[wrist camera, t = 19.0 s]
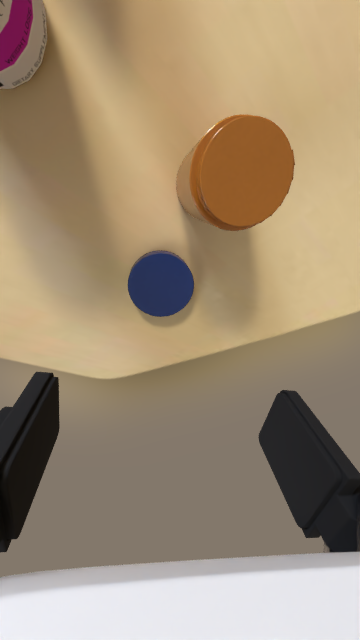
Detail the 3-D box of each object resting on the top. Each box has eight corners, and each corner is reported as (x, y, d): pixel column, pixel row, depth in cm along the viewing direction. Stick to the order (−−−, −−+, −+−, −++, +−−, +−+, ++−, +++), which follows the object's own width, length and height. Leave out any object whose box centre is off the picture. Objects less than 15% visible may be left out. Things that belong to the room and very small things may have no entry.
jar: (188, 230, 25) (210, 247, 16) (166, 159, 22) (177, 132, 13) (249, 207, 25) (305, 212, 16) (234, 132, 22) (293, 85, 13)
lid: (198, 256, 26) (200, 259, 25) (185, 314, 29) (187, 320, 27) (132, 245, 25) (131, 247, 24) (126, 306, 28) (124, 312, 26)
